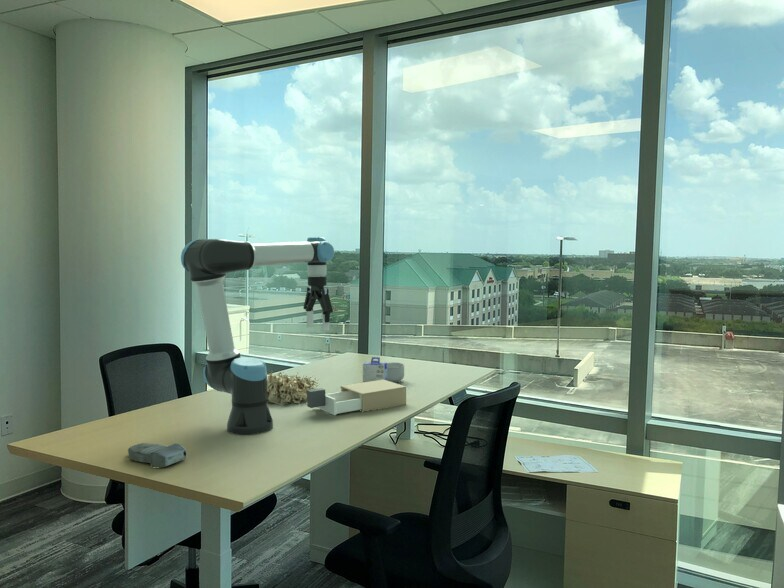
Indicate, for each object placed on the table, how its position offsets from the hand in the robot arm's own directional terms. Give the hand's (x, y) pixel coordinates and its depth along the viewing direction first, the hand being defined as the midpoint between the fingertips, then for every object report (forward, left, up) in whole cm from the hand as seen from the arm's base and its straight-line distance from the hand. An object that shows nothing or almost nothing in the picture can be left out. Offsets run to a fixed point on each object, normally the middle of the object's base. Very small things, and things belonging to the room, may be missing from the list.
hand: (317, 328), depth 244 cm
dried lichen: (-11, +12, -29) cm, 33 cm away
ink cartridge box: (+26, -2, -29) cm, 39 cm away
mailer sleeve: (+14, -19, -29) cm, 37 cm away
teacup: (+43, +11, -29) cm, 53 cm away
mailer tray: (-1, -19, -28) cm, 34 cm away
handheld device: (-73, -35, -29) cm, 86 cm away
